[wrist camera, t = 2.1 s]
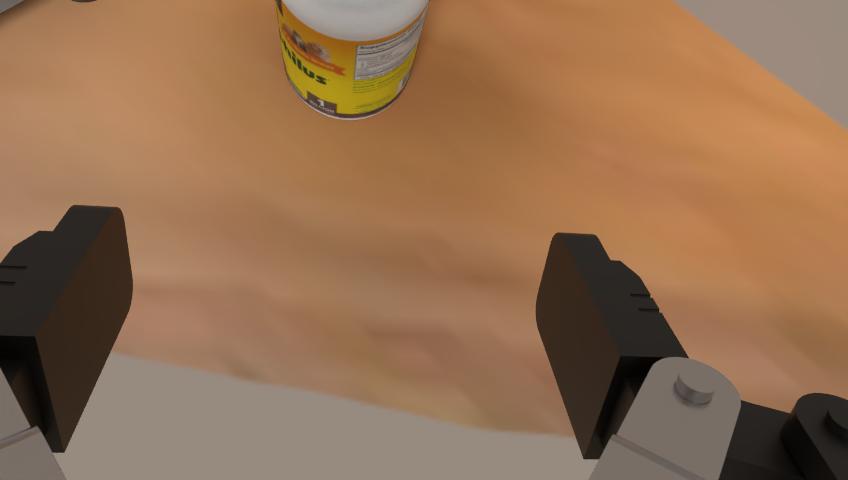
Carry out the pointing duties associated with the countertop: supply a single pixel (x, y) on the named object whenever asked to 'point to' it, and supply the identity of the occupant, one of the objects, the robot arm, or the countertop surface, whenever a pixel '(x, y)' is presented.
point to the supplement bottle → (349, 52)
